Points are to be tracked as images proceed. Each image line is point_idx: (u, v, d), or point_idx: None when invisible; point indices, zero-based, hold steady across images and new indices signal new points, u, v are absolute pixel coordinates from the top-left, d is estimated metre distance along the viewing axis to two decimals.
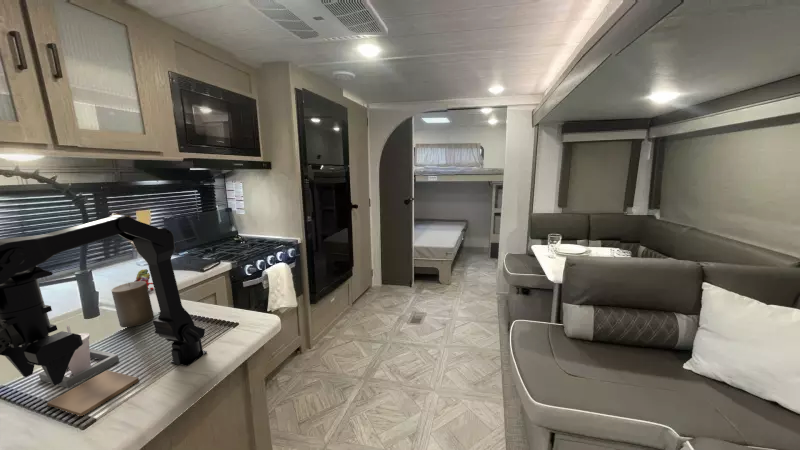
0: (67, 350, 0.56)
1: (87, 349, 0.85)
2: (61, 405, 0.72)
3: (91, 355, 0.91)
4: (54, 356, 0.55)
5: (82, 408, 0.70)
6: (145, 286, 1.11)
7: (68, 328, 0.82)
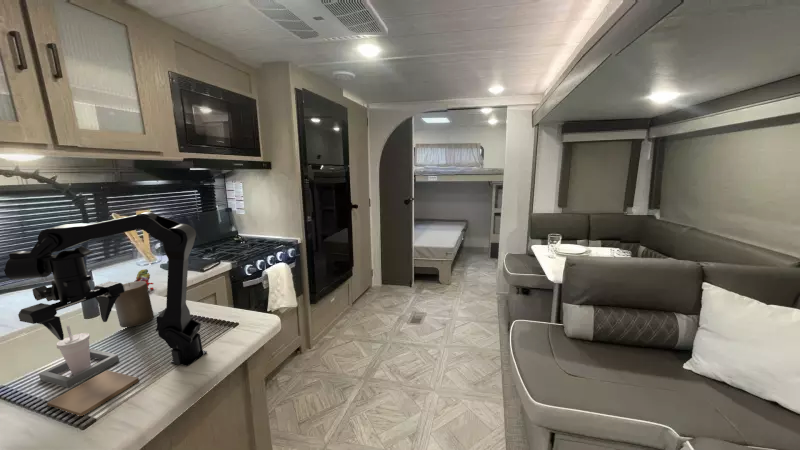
0: (28, 321, 0.70)
1: (87, 349, 0.85)
2: (61, 405, 0.72)
3: (91, 355, 0.91)
4: (23, 320, 0.71)
5: (82, 408, 0.70)
6: (145, 286, 1.11)
7: (68, 328, 0.82)
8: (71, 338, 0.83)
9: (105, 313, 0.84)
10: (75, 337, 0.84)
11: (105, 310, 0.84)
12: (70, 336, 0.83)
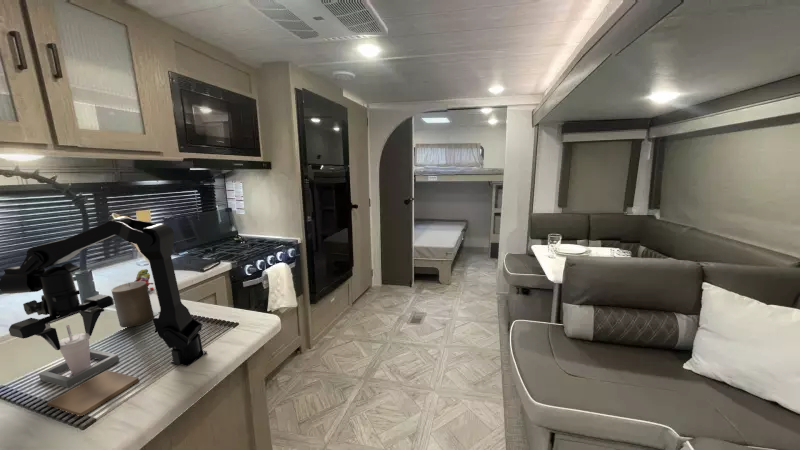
0: (17, 336, 0.73)
1: (87, 349, 0.85)
2: (61, 405, 0.72)
3: (91, 355, 0.91)
4: (13, 335, 0.74)
5: (82, 408, 0.70)
6: (145, 286, 1.11)
7: (68, 328, 0.82)
8: (71, 338, 0.83)
9: (89, 328, 0.86)
10: (75, 337, 0.84)
11: (89, 325, 0.86)
12: (70, 336, 0.83)
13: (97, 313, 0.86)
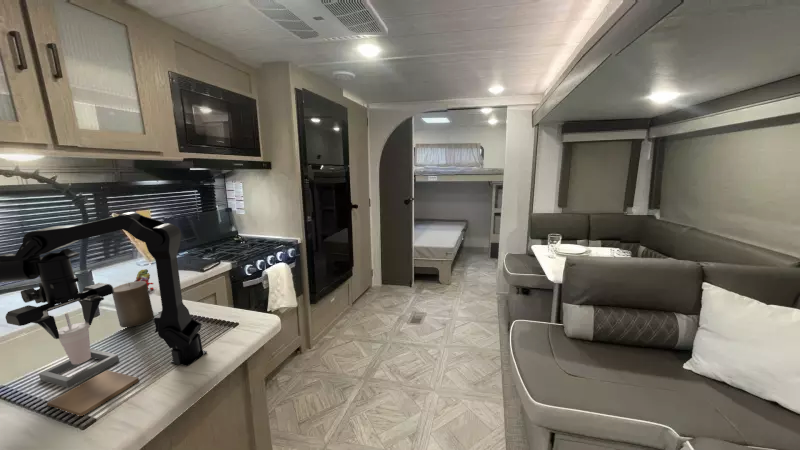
0: (14, 323, 0.71)
1: (87, 338, 0.82)
2: (61, 405, 0.72)
3: (91, 355, 0.91)
4: (10, 323, 0.71)
5: (82, 408, 0.70)
6: (145, 286, 1.11)
7: (67, 316, 0.80)
8: (70, 327, 0.80)
9: (88, 317, 0.84)
10: (74, 326, 0.82)
11: (88, 314, 0.83)
12: (69, 325, 0.80)
13: (97, 301, 0.84)
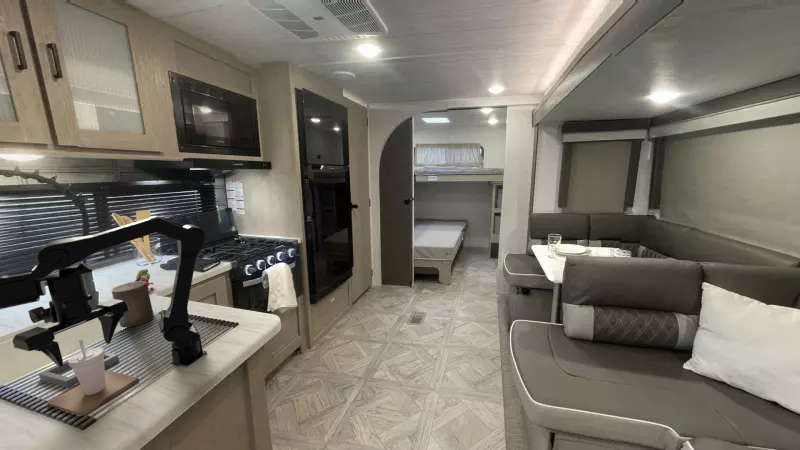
0: (23, 348, 0.64)
1: (102, 366, 0.76)
2: (61, 405, 0.72)
3: None
4: (17, 347, 0.64)
5: (82, 408, 0.70)
6: (145, 286, 1.11)
7: (81, 343, 0.73)
8: (84, 354, 0.74)
9: (108, 334, 0.78)
10: (89, 353, 0.75)
11: (108, 331, 0.78)
12: (83, 352, 0.73)
13: (117, 318, 0.78)
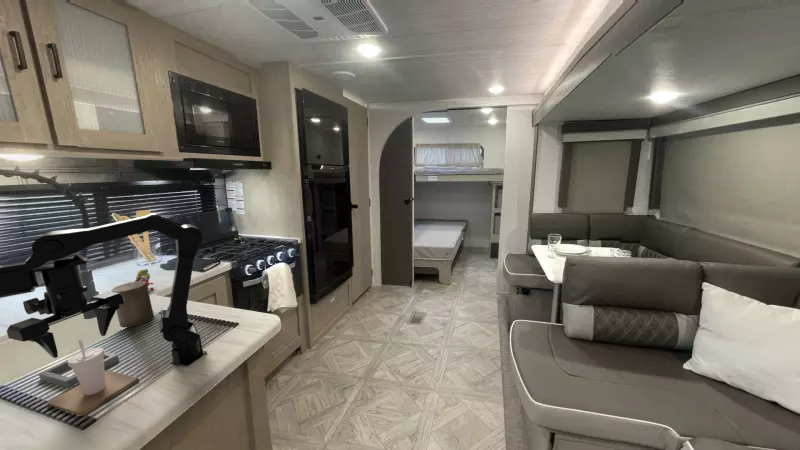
0: (17, 339, 0.64)
1: (102, 366, 0.76)
2: (61, 405, 0.72)
3: None
4: (12, 338, 0.64)
5: (82, 408, 0.70)
6: (145, 286, 1.11)
7: (81, 343, 0.73)
8: (84, 354, 0.74)
9: (103, 326, 0.78)
10: (88, 353, 0.75)
11: (103, 323, 0.77)
12: (83, 352, 0.73)
13: (112, 310, 0.78)
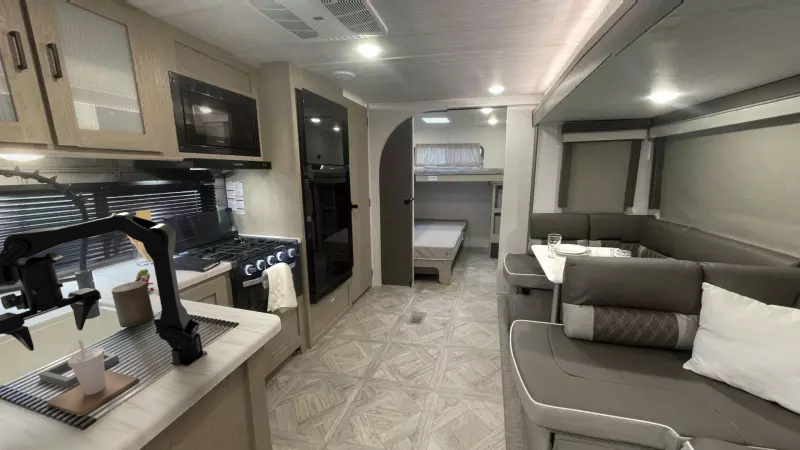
0: None
1: (102, 366, 0.76)
2: (61, 405, 0.72)
3: None
4: None
5: (82, 408, 0.70)
6: (145, 286, 1.11)
7: (81, 343, 0.73)
8: (84, 354, 0.74)
9: (80, 321, 0.81)
10: (88, 353, 0.75)
11: (80, 318, 0.81)
12: (83, 352, 0.73)
13: (88, 305, 0.81)
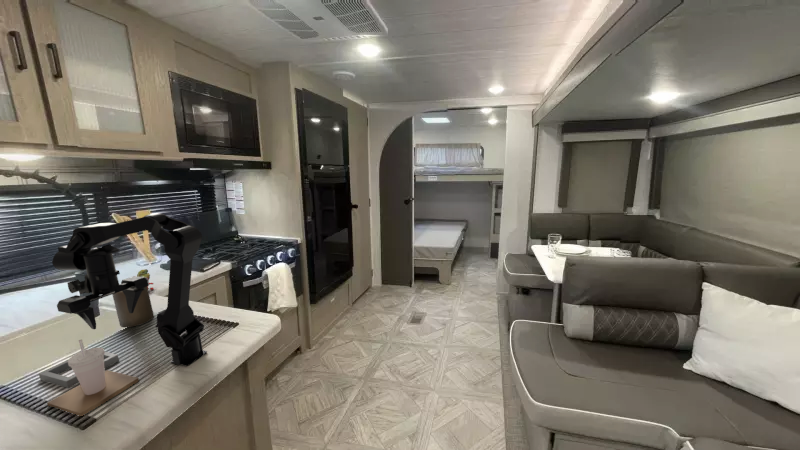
0: (65, 311, 0.78)
1: (102, 366, 0.76)
2: (61, 405, 0.72)
3: None
4: (61, 310, 0.78)
5: (82, 408, 0.70)
6: None
7: (81, 343, 0.73)
8: (84, 354, 0.74)
9: (131, 305, 0.92)
10: (88, 353, 0.75)
11: (131, 302, 0.91)
12: (83, 352, 0.73)
13: (139, 291, 0.92)
